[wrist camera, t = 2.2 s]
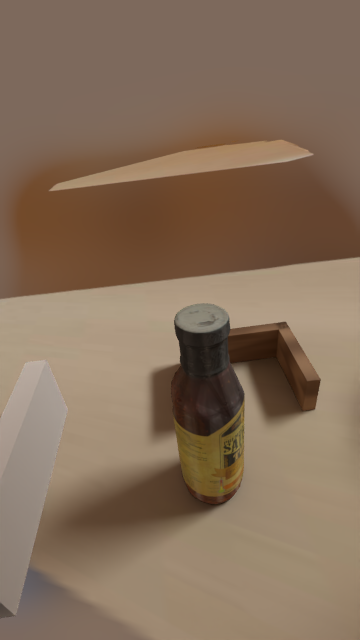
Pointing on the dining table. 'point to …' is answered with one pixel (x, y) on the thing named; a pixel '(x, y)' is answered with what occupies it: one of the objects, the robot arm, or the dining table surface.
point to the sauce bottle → (208, 405)
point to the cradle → (286, 349)
